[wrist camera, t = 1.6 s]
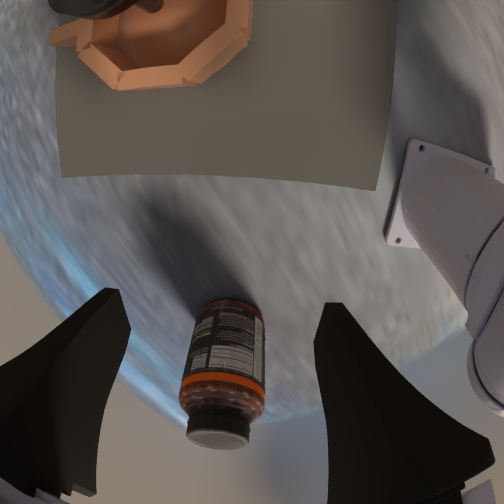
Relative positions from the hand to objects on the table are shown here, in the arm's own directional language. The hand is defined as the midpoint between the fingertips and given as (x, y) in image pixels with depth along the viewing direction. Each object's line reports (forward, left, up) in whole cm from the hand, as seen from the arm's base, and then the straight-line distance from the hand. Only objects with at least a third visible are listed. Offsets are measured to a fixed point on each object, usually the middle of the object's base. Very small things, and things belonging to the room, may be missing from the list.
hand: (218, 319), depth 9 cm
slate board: (+2, -13, -10) cm, 17 cm away
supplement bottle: (0, +11, -11) cm, 15 cm away
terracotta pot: (+6, -12, -10) cm, 16 cm away
